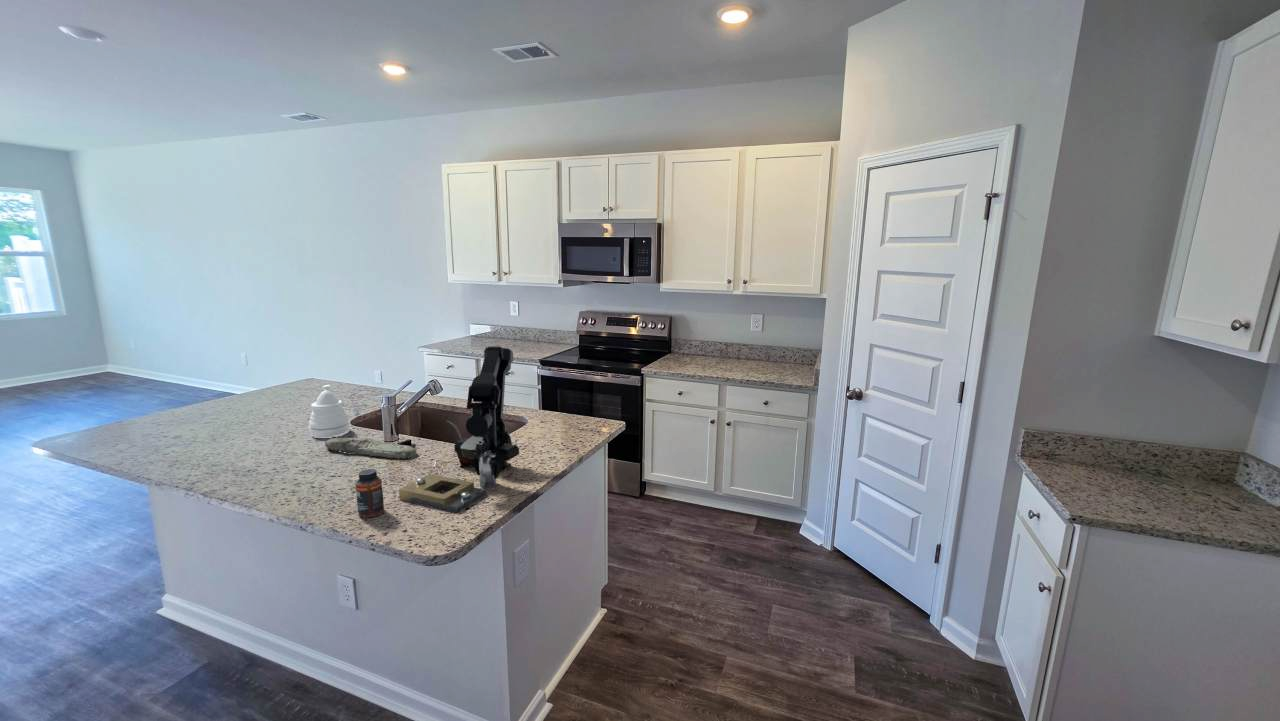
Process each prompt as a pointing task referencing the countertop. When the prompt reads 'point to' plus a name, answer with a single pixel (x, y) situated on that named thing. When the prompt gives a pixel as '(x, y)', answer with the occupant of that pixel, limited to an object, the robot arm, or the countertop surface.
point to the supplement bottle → (369, 494)
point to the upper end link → (431, 482)
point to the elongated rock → (370, 447)
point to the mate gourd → (463, 460)
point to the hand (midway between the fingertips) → (487, 476)
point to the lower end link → (456, 503)
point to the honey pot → (328, 415)
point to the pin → (486, 470)
